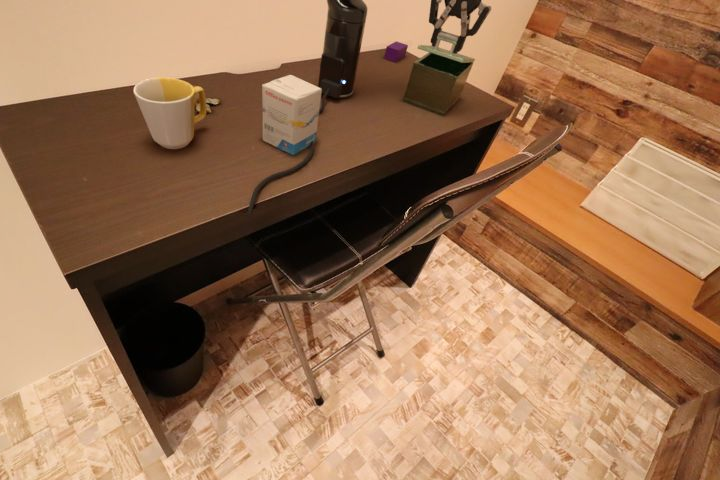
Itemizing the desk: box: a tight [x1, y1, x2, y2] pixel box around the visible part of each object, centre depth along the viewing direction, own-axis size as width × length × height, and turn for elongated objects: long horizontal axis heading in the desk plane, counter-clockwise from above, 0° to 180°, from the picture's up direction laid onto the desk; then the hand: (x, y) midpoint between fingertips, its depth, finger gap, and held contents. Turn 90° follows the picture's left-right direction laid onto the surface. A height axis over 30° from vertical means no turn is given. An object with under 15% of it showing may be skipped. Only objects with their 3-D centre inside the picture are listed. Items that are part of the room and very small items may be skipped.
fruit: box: [191, 84, 221, 114], centre depth 83 cm, size 8×8×4 cm
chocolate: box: [383, 41, 409, 63], centre depth 122 cm, size 8×4×4 cm, turn 148°
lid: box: [417, 30, 476, 63], centre depth 93 cm, size 16×12×5 cm
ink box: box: [261, 74, 322, 156], centre depth 74 cm, size 9×8×12 cm
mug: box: [132, 76, 207, 150], centre depth 70 cm, size 14×10×10 cm
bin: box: [402, 52, 474, 116], centre depth 99 cm, size 15×12×10 cm
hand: (444, 49), depth 89 cm, fingers closed on lid, 5 cm apart
